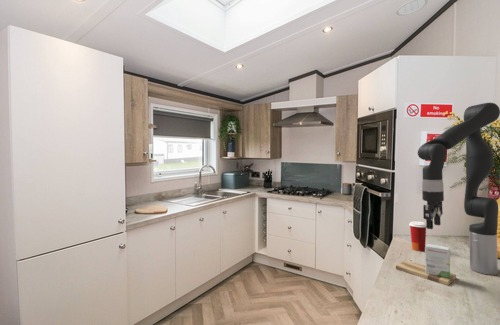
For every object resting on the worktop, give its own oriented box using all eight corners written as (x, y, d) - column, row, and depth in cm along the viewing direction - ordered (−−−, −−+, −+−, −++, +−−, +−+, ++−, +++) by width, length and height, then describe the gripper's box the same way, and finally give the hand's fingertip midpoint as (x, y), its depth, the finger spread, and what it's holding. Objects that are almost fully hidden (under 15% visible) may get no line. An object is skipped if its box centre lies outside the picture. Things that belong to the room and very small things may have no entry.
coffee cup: (427, 248, 144) (426, 222, 143) (427, 253, 137) (427, 225, 136) (409, 246, 148) (409, 220, 148) (409, 250, 141) (408, 223, 141)
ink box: (425, 273, 110) (424, 246, 110) (426, 269, 114) (425, 243, 114) (450, 278, 105) (449, 250, 105) (450, 274, 109) (449, 246, 109)
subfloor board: (405, 263, 125) (405, 260, 125) (456, 278, 108) (456, 274, 108) (395, 269, 119) (395, 265, 119) (447, 285, 103) (447, 281, 103)
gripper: (429, 187, 117) (430, 222, 118) (416, 190, 109) (417, 228, 109) (448, 188, 111) (449, 225, 112) (436, 192, 103) (437, 232, 103)
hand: (433, 226), depth 110 cm, fingers open, 8 cm apart
